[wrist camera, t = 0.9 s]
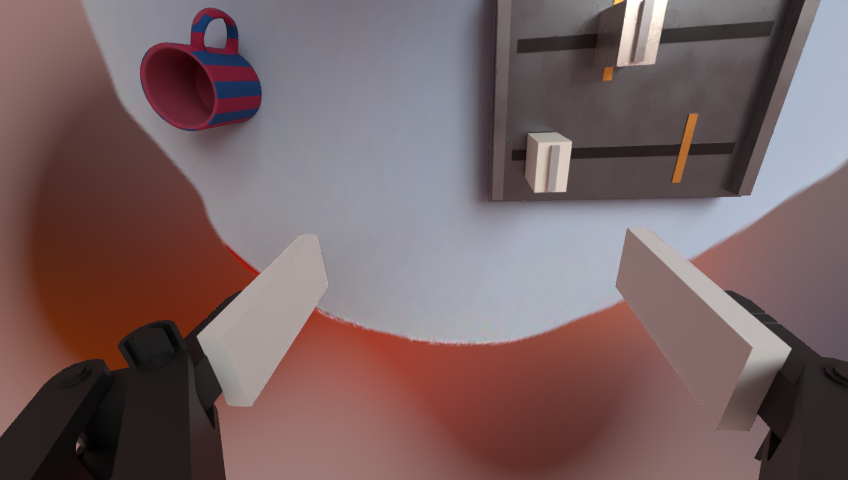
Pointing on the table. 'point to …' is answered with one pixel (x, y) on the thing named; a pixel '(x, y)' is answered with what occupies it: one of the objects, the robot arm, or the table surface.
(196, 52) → the mug
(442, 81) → the table surface
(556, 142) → the fader tab
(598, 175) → the console
